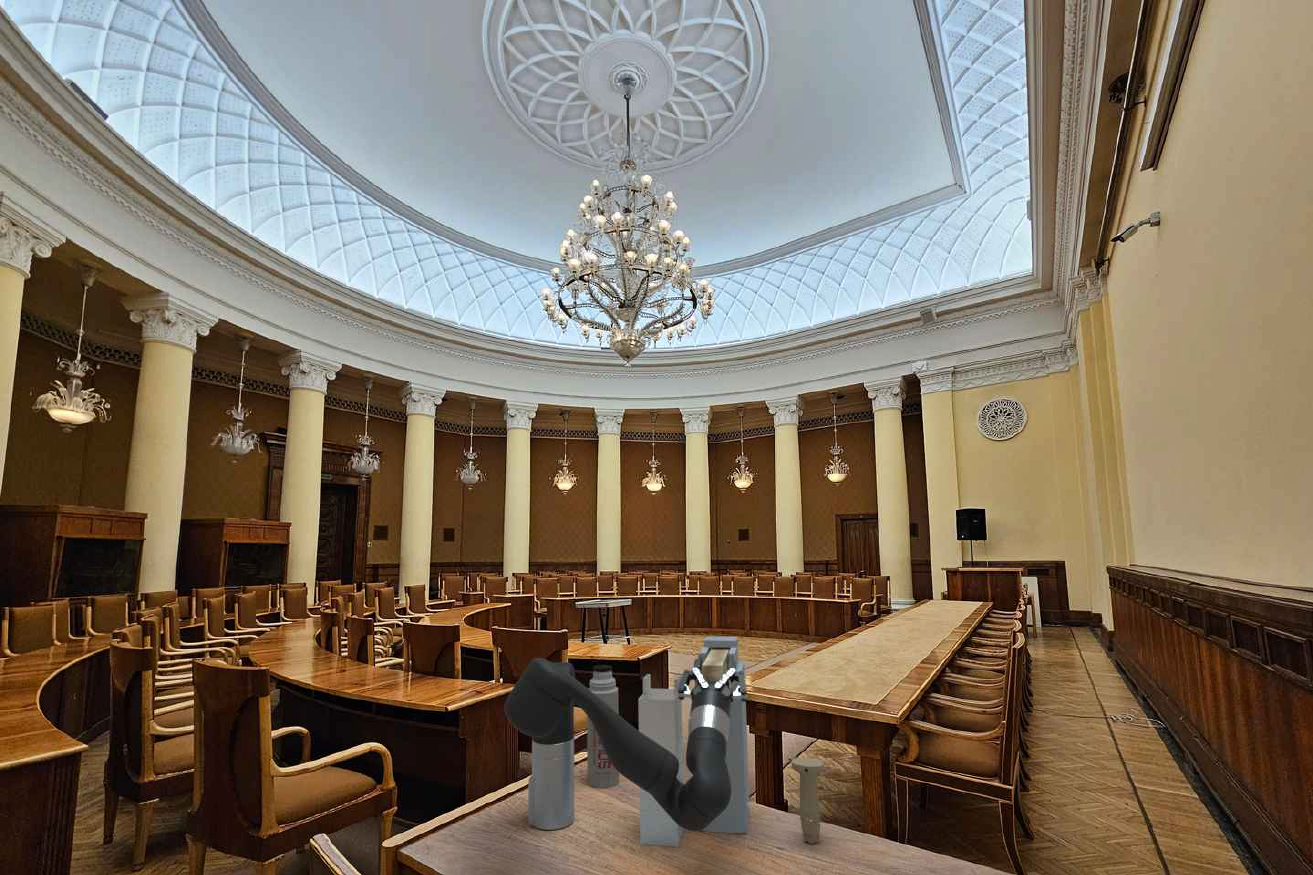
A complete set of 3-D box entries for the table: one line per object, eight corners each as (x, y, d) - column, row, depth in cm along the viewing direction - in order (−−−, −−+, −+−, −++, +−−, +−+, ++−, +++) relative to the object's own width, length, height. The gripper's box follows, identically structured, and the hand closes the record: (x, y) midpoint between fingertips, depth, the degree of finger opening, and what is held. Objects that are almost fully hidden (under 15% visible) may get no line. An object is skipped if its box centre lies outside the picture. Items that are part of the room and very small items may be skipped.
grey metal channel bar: (640, 844, 132) (638, 683, 136) (649, 824, 140) (647, 674, 145) (677, 846, 130) (674, 684, 134) (684, 826, 139) (680, 674, 143)
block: (702, 683, 131) (702, 665, 131) (714, 660, 152) (713, 645, 153) (722, 683, 130) (722, 665, 131) (731, 661, 152) (730, 645, 152)
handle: (826, 848, 128) (822, 767, 130) (793, 843, 131) (789, 764, 133) (828, 837, 133) (824, 759, 135) (797, 833, 135) (793, 756, 137)
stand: (698, 830, 137) (693, 645, 142) (705, 806, 149) (700, 636, 154) (746, 833, 135) (740, 646, 140) (749, 809, 147) (743, 636, 152)
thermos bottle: (615, 788, 160) (614, 669, 164) (583, 787, 161) (583, 669, 165) (622, 776, 168) (621, 663, 171) (592, 775, 169) (591, 662, 173)
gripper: (673, 735, 125) (683, 672, 141) (749, 738, 123) (751, 674, 138) (669, 705, 123) (680, 644, 138) (746, 707, 120) (749, 645, 135)
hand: (715, 659), depth 138 cm, fingers open, 6 cm apart
